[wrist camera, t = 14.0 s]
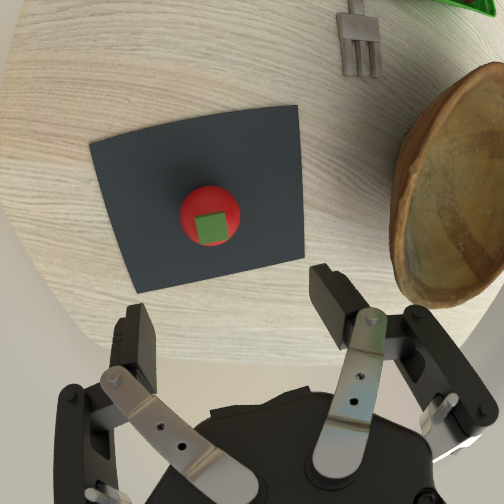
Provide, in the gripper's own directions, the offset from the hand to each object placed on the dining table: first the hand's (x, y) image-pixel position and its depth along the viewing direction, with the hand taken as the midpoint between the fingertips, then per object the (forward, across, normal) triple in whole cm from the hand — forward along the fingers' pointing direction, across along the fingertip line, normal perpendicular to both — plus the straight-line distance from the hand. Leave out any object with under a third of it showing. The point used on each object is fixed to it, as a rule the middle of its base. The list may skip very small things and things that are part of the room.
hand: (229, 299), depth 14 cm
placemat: (+12, 0, 0) cm, 12 cm away
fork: (+12, -14, -20) cm, 27 cm away
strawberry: (+12, 0, 0) cm, 12 cm away
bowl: (+12, -22, -1) cm, 25 cm away
